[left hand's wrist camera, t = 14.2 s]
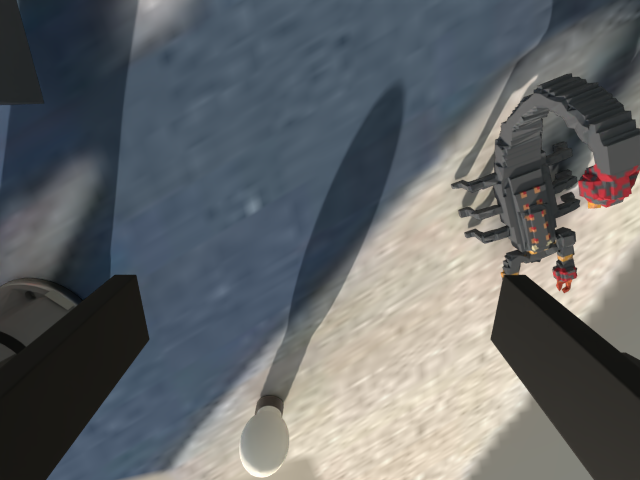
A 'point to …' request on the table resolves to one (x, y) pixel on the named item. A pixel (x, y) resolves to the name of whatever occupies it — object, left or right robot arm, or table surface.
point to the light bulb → (265, 438)
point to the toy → (534, 176)
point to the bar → (16, 60)
